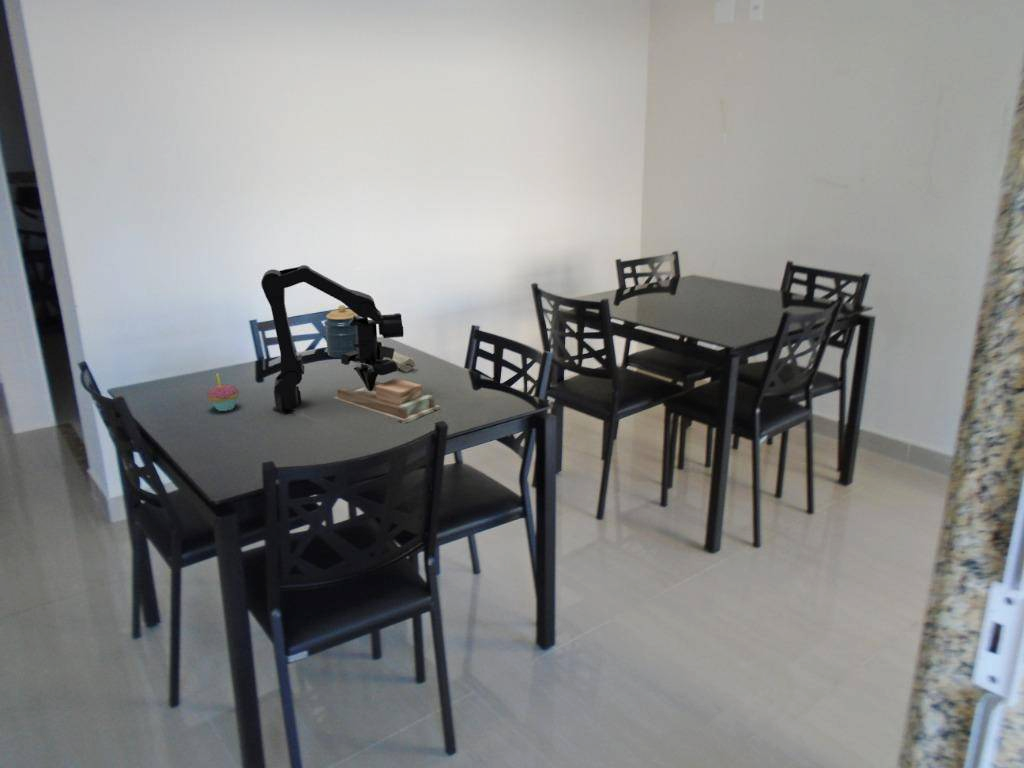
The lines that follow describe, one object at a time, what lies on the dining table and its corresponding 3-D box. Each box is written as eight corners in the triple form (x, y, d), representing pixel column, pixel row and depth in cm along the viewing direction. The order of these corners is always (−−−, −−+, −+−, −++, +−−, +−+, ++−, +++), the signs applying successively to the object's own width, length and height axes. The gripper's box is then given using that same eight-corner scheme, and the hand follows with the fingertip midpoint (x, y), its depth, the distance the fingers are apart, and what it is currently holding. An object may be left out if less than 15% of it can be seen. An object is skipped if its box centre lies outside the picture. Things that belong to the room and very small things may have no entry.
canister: (366, 357, 261) (362, 307, 255) (328, 360, 257) (323, 310, 251) (362, 347, 272) (358, 300, 267) (326, 350, 269) (321, 302, 263)
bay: (403, 424, 200) (402, 410, 199) (333, 401, 218) (332, 388, 217) (439, 409, 211) (439, 396, 209) (369, 388, 229) (368, 376, 227)
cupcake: (235, 413, 210) (230, 373, 206) (205, 414, 209) (198, 374, 205) (244, 403, 218) (238, 364, 214) (214, 404, 217) (208, 365, 213)
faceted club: (381, 352, 262) (425, 371, 246) (362, 364, 258) (406, 383, 241) (374, 331, 258) (419, 348, 241) (355, 342, 253) (399, 360, 236)
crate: (401, 413, 204) (400, 392, 202) (376, 405, 211) (375, 385, 209) (422, 404, 210) (421, 384, 209) (398, 397, 217) (396, 378, 215)
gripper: (410, 338, 212) (412, 390, 217) (367, 328, 223) (371, 377, 228) (380, 347, 204) (383, 400, 209) (337, 335, 215) (342, 386, 220)
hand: (370, 390), depth 217 cm, fingers closed
